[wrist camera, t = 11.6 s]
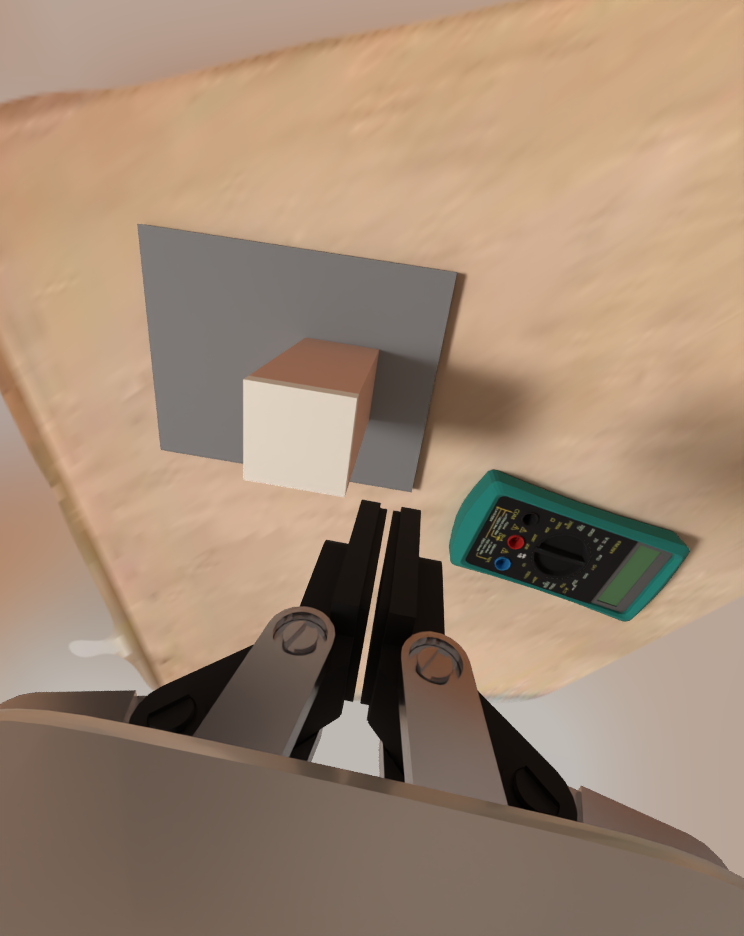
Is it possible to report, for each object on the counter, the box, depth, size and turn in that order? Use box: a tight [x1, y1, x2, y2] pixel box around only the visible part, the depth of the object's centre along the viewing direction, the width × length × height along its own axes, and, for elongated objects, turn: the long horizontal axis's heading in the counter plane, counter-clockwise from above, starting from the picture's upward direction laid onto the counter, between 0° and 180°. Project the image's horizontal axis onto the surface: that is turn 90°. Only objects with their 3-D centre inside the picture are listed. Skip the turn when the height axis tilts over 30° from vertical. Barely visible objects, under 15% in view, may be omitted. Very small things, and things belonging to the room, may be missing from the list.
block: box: [243, 338, 379, 497], centre depth 22 cm, size 4×4×10 cm
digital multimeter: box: [449, 470, 690, 621], centre depth 30 cm, size 7×15×3 cm, turn 72°
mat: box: [137, 224, 457, 492], centre depth 27 cm, size 18×14×1 cm
